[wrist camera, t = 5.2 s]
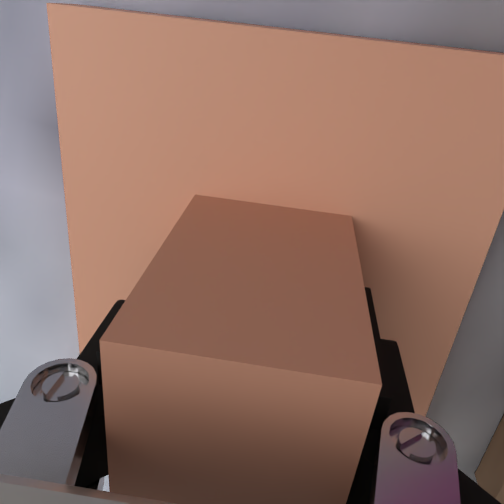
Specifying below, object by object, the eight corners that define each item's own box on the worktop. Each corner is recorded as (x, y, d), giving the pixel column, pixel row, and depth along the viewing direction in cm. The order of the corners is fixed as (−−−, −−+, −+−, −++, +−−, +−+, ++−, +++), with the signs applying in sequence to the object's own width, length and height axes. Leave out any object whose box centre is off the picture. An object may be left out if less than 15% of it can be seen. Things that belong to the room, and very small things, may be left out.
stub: (535, 56, 11) (861, 122, 4) (390, 464, 17) (435, 730, 11) (71, 3, 11) (-240, -7, 5) (101, 416, 18) (-17, 639, 12)
